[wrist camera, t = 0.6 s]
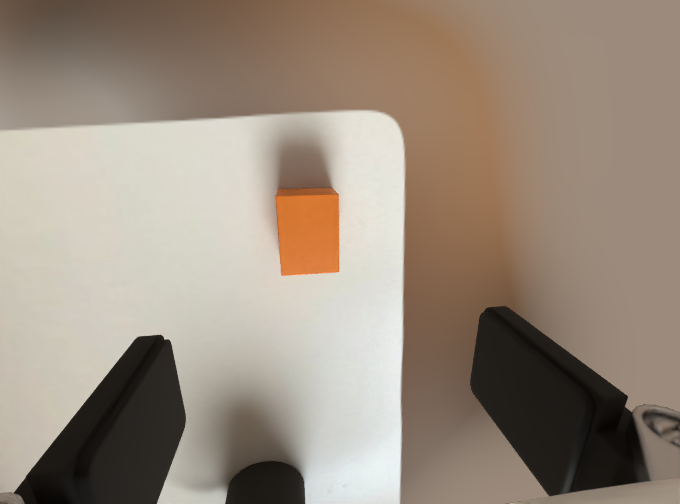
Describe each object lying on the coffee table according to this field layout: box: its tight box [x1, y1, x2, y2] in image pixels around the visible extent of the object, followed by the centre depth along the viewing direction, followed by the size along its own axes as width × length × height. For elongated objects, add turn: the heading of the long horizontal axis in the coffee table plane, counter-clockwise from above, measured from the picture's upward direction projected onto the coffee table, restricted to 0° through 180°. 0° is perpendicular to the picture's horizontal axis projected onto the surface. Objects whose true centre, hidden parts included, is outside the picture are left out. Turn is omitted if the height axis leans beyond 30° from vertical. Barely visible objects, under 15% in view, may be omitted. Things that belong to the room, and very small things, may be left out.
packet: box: [276, 188, 339, 276], centre depth 25 cm, size 4×6×4 cm
